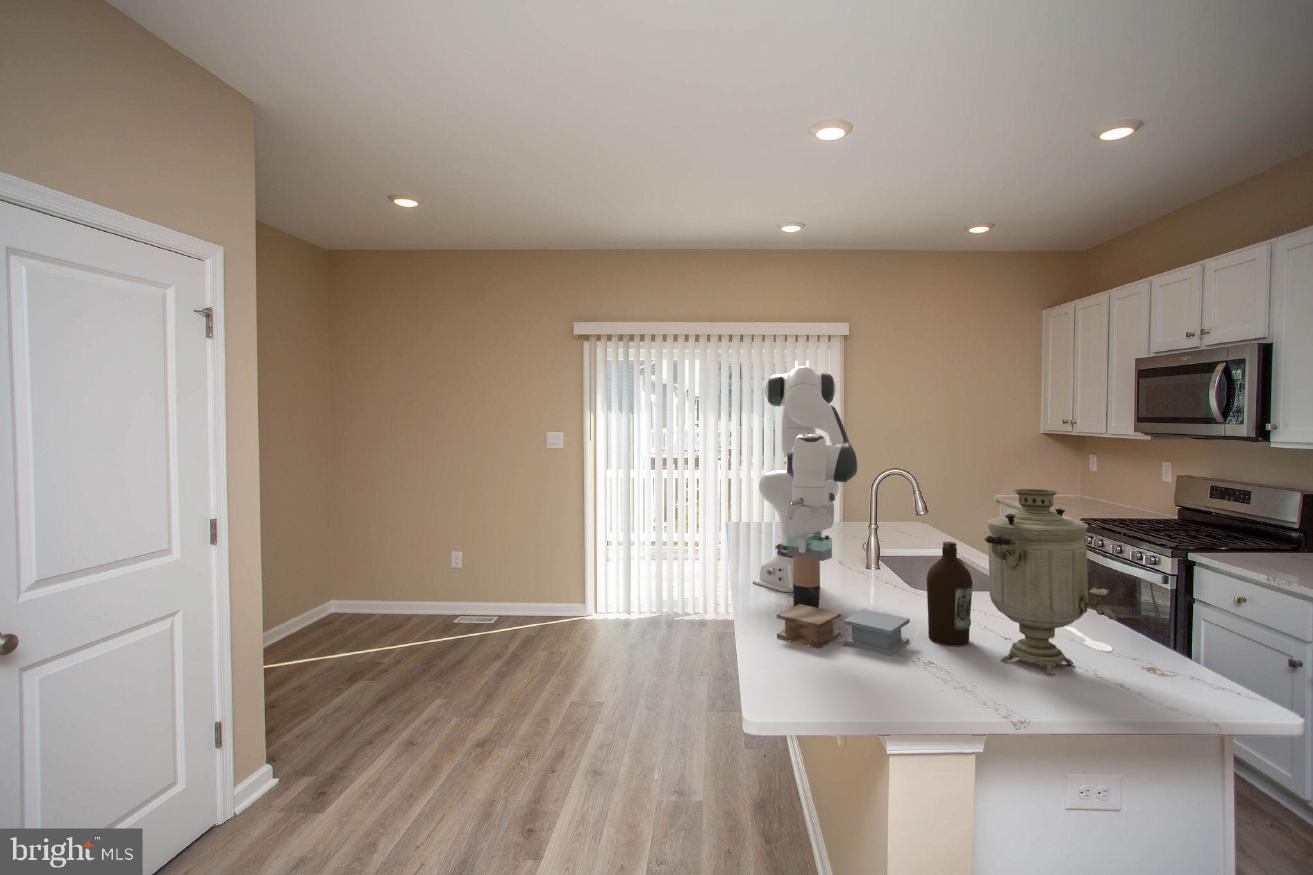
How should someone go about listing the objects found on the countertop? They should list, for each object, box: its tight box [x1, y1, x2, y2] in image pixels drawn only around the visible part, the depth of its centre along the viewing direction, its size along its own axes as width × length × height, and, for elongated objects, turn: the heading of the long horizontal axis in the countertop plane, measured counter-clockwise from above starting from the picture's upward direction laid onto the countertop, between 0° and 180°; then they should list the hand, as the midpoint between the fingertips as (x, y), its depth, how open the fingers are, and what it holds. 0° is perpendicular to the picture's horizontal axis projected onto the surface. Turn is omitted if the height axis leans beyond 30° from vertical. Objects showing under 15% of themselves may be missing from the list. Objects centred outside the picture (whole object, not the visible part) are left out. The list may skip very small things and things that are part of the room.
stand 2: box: [843, 608, 910, 657], centre depth 159 cm, size 12×12×6 cm
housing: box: [787, 534, 833, 562], centre depth 163 cm, size 10×5×6 cm, turn 48°
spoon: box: [1062, 625, 1113, 653], centre depth 162 cm, size 5×18×1 cm, turn 175°
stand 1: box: [776, 604, 842, 649], centre depth 164 cm, size 12×12×6 cm
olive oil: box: [926, 541, 973, 647], centre depth 161 cm, size 11×11×25 cm
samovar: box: [984, 488, 1117, 677], centre depth 143 cm, size 30×26×40 cm
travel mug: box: [792, 556, 821, 608], centre depth 183 cm, size 8×8×20 cm
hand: (809, 550), depth 163 cm, fingers closed on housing, 5 cm apart
